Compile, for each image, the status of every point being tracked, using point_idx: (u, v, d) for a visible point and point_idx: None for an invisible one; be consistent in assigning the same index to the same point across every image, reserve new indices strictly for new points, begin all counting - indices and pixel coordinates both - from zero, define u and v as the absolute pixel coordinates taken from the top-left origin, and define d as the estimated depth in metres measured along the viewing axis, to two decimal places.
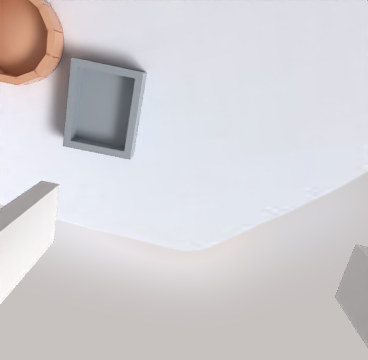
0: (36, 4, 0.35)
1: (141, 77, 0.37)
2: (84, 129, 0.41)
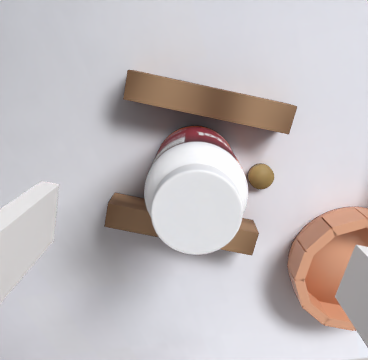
0: (330, 237, 0.26)
1: None
2: None
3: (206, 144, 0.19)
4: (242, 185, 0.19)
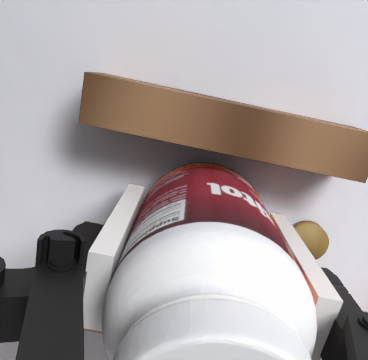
0: None
1: None
2: None
3: (231, 231, 0.09)
4: (309, 320, 0.09)
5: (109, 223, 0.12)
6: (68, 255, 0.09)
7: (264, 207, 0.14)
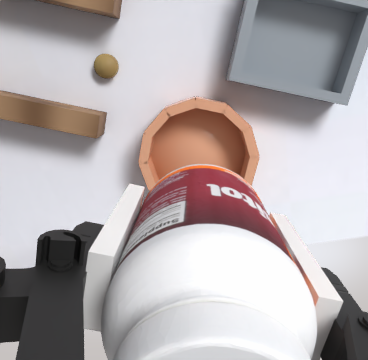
0: (165, 118, 0.28)
1: None
2: (321, 78, 0.29)
3: (231, 233, 0.09)
4: (309, 323, 0.09)
5: (109, 223, 0.12)
6: (68, 255, 0.09)
7: (264, 208, 0.14)
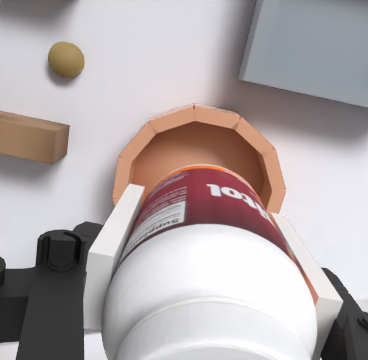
0: (150, 136, 0.19)
1: None
2: None
3: (231, 234, 0.09)
4: (309, 323, 0.09)
5: (109, 223, 0.12)
6: (68, 255, 0.09)
7: (264, 208, 0.14)
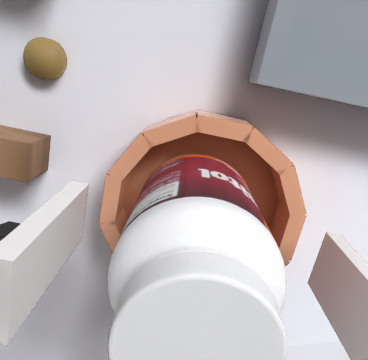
0: (143, 150, 0.16)
1: None
2: None
3: (215, 204, 0.11)
4: (279, 277, 0.11)
5: (26, 223, 0.10)
6: None
7: (249, 191, 0.16)
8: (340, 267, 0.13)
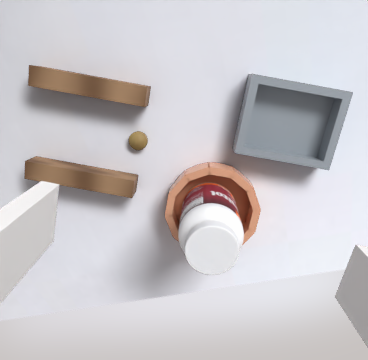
0: (185, 182, 0.36)
1: (257, 76, 0.33)
2: (308, 147, 0.36)
3: (217, 205, 0.30)
4: (239, 230, 0.30)
5: None
6: None
7: (233, 200, 0.35)
8: None
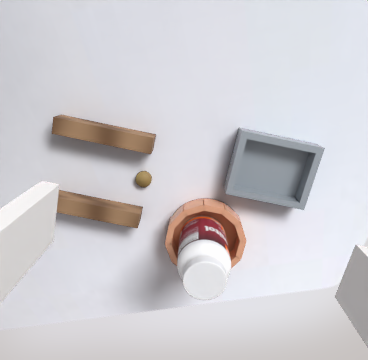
0: (183, 216, 0.42)
1: (246, 132, 0.39)
2: (287, 188, 0.43)
3: (209, 242, 0.37)
4: (227, 263, 0.37)
5: None
6: None
7: (223, 233, 0.42)
8: None
